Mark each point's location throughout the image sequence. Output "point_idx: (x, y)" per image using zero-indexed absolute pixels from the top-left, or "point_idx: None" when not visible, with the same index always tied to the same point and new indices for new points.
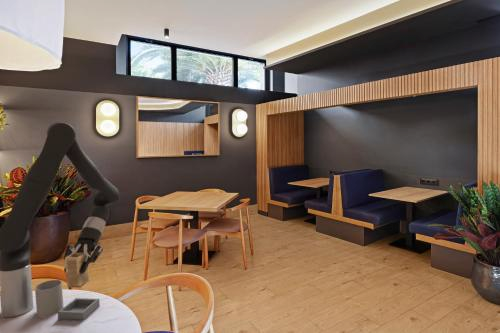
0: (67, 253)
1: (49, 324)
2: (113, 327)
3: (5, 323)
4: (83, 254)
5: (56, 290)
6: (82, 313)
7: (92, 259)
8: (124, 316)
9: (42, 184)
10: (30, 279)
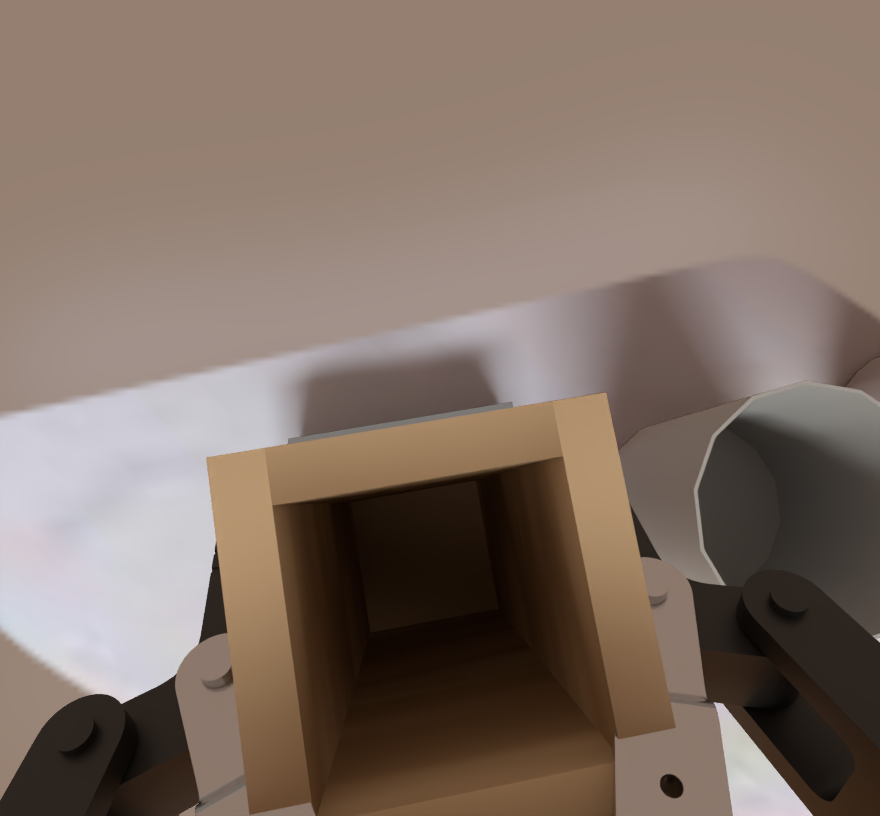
0: (876, 725)
1: (514, 352)
2: (9, 427)
3: (832, 293)
4: (258, 738)
5: (674, 496)
6: (293, 438)
7: (50, 741)
8: (12, 573)
9: None
10: None
